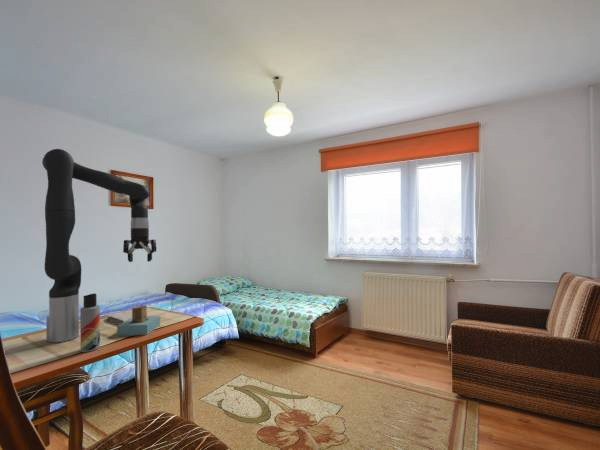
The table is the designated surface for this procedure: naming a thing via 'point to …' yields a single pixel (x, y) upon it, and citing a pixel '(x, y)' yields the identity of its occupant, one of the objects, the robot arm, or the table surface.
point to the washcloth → (120, 316)
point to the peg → (139, 314)
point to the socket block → (138, 326)
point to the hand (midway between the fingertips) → (140, 261)
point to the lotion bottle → (90, 324)
